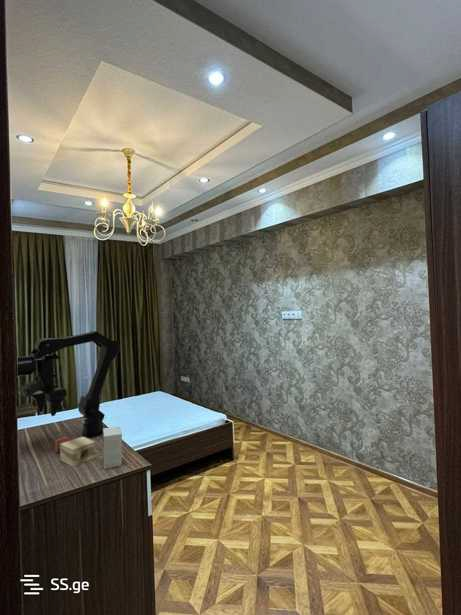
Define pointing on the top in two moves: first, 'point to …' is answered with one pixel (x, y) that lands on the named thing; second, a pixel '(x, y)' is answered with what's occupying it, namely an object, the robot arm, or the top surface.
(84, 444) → the block
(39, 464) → the top surface
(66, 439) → the pin
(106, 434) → the small box
